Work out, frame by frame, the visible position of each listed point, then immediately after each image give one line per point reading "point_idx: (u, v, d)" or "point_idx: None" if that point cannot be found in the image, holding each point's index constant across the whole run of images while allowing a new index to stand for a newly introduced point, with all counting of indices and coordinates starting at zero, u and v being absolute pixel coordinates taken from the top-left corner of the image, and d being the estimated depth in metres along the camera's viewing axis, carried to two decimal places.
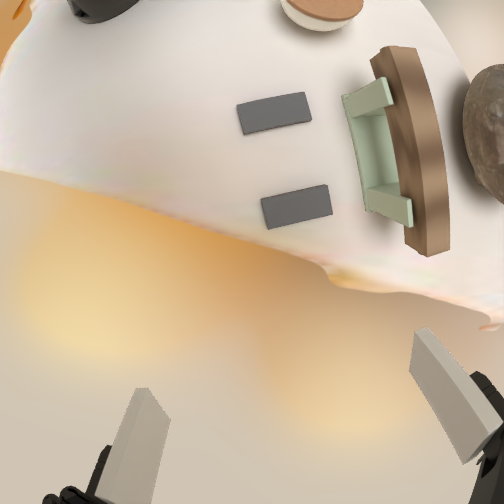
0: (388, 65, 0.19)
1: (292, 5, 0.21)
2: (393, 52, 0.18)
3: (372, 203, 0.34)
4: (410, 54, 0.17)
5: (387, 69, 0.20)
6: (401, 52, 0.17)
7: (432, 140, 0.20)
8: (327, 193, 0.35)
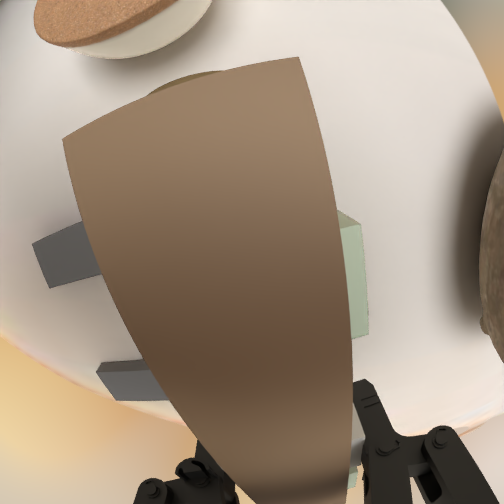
0: None
1: None
2: (88, 176, 0.03)
3: None
4: (224, 139, 0.03)
5: None
6: (144, 148, 0.03)
7: (306, 479, 0.06)
8: None
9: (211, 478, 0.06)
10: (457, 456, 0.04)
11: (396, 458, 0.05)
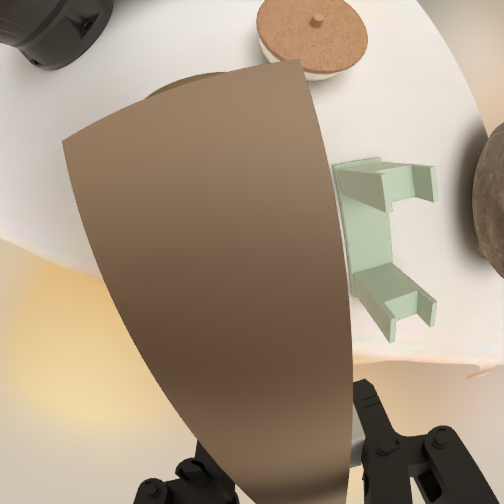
0: None
1: (271, 52, 0.19)
2: (88, 179, 0.03)
3: (358, 291, 0.32)
4: (224, 141, 0.03)
5: None
6: (144, 151, 0.03)
7: (306, 480, 0.06)
8: None
9: (211, 478, 0.06)
10: (457, 456, 0.04)
11: (396, 458, 0.05)
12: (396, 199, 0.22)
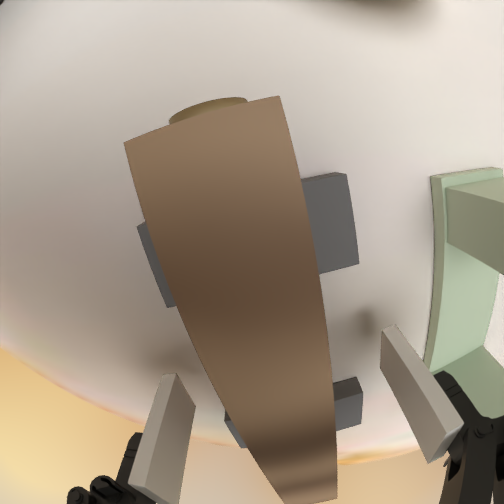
0: None
1: None
2: (143, 168, 0.05)
3: None
4: (234, 148, 0.05)
5: None
6: (184, 152, 0.05)
7: (298, 427, 0.08)
8: (359, 402, 0.15)
9: (122, 493, 0.06)
10: None
11: (489, 441, 0.04)
12: None
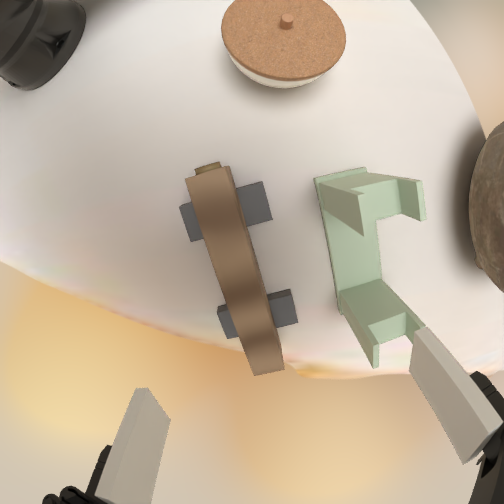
0: None
1: (238, 61, 0.18)
2: (190, 186, 0.22)
3: (344, 310, 0.30)
4: (213, 180, 0.22)
5: None
6: (201, 182, 0.22)
7: (242, 279, 0.25)
8: (291, 302, 0.31)
9: (89, 503, 0.05)
10: None
11: None
12: (379, 217, 0.20)
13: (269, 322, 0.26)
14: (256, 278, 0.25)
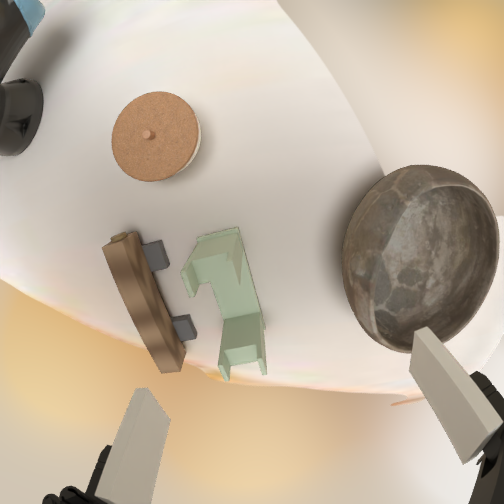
0: None
1: None
2: (105, 252, 0.33)
3: None
4: (117, 249, 0.32)
5: None
6: (110, 250, 0.32)
7: (141, 310, 0.35)
8: (188, 324, 0.42)
9: (89, 503, 0.05)
10: None
11: None
12: (216, 279, 0.31)
13: (162, 338, 0.37)
14: (149, 310, 0.35)
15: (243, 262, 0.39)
